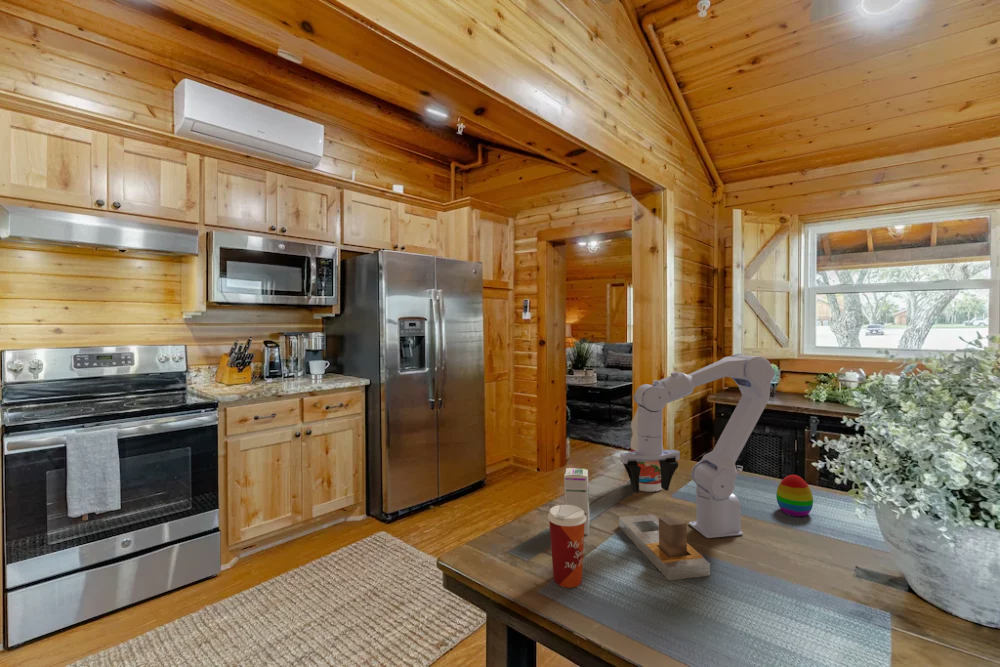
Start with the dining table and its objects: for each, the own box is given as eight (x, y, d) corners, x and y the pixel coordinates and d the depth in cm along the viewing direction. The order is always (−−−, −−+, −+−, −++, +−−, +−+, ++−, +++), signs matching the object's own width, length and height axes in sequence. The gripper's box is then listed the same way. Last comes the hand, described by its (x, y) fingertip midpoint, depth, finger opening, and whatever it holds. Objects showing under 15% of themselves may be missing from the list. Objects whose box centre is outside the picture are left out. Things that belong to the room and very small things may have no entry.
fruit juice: (666, 484, 144) (665, 395, 143) (659, 494, 136) (658, 400, 135) (635, 479, 149) (634, 393, 148) (627, 489, 141) (626, 397, 140)
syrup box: (589, 535, 112) (588, 475, 111) (564, 533, 113) (563, 474, 112) (589, 524, 117) (588, 468, 117) (566, 523, 118) (565, 467, 118)
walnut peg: (675, 555, 101) (675, 515, 101) (686, 565, 97) (686, 523, 97) (659, 558, 100) (658, 517, 100) (670, 568, 96) (669, 525, 96)
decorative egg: (799, 505, 126) (799, 469, 126) (820, 518, 118) (820, 480, 118) (769, 506, 126) (769, 470, 126) (789, 519, 118) (789, 481, 118)
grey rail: (652, 523, 117) (652, 513, 117) (710, 575, 93) (709, 562, 93) (619, 526, 116) (618, 516, 115) (668, 580, 92) (668, 567, 92)
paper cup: (578, 595, 87) (577, 522, 87) (541, 583, 91) (540, 514, 91) (593, 575, 94) (592, 507, 94) (558, 565, 98) (557, 500, 98)
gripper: (668, 429, 117) (669, 482, 117) (614, 432, 114) (615, 486, 115) (684, 436, 110) (684, 492, 110) (627, 439, 107) (627, 497, 108)
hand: (650, 490), depth 112 cm, fingers open, 7 cm apart
